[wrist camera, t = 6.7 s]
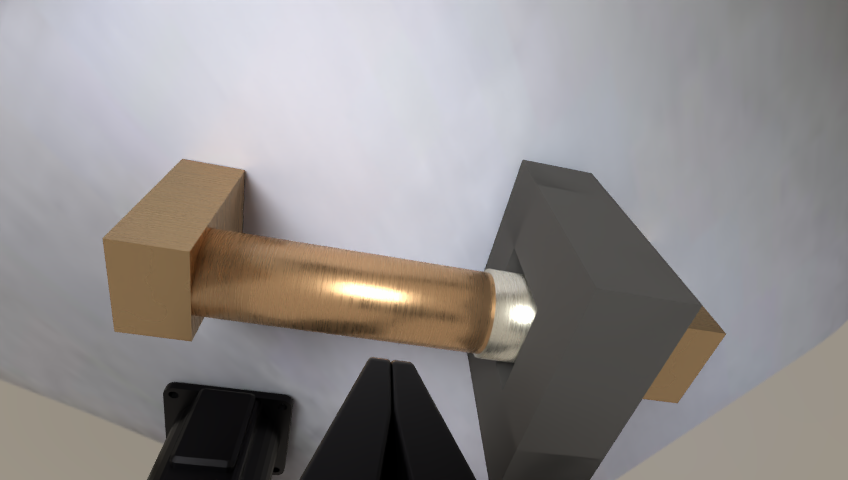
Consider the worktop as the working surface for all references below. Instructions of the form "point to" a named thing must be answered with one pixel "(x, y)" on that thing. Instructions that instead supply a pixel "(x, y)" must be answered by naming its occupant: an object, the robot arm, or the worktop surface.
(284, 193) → the worktop surface
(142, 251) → the square head rod
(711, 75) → the worktop surface
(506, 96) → the worktop surface
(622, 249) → the dark grey square ring
